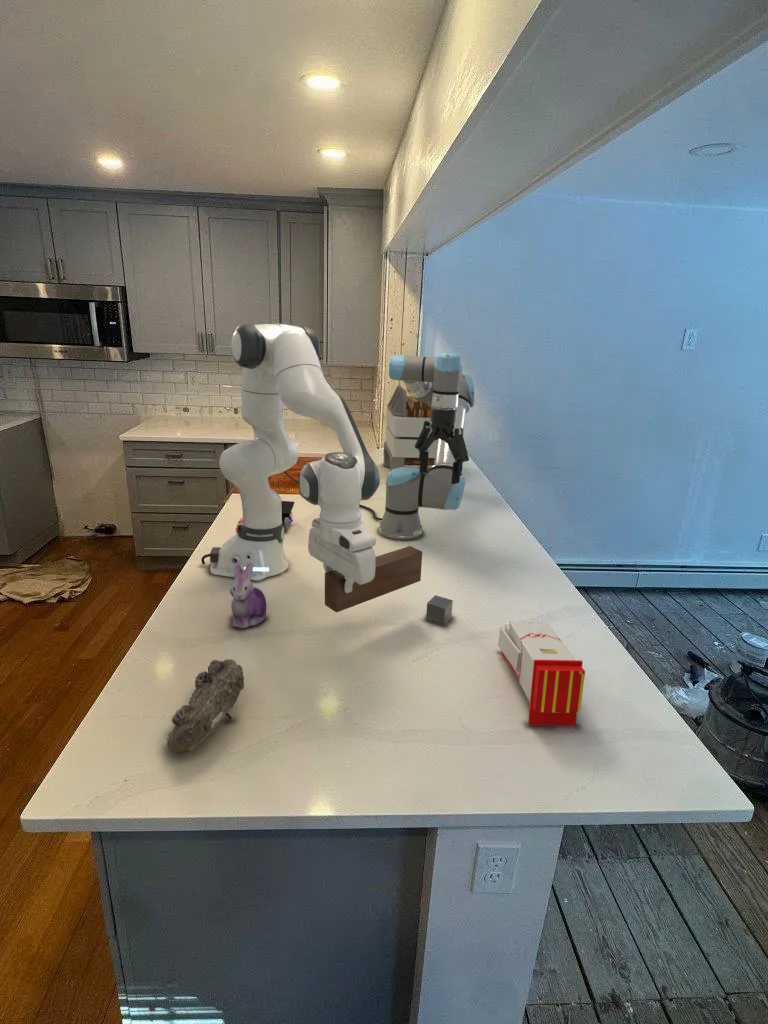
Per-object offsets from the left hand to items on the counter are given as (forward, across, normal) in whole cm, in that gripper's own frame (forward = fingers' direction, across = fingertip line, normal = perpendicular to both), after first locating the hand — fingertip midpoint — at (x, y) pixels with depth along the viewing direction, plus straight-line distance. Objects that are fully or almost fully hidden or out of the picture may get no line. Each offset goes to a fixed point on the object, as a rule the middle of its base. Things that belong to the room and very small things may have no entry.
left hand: (339, 586), depth 127 cm
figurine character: (+16, -73, +30) cm, 80 cm away
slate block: (+16, +5, +28) cm, 33 cm away
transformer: (+16, -97, +120) cm, 155 cm away
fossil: (+16, +4, -33) cm, 37 cm away
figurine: (+16, -23, -10) cm, 30 cm away
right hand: (-11, -23, +54) cm, 60 cm away
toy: (+16, +36, +25) cm, 47 cm away
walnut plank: (+5, 0, +11) cm, 12 cm away
